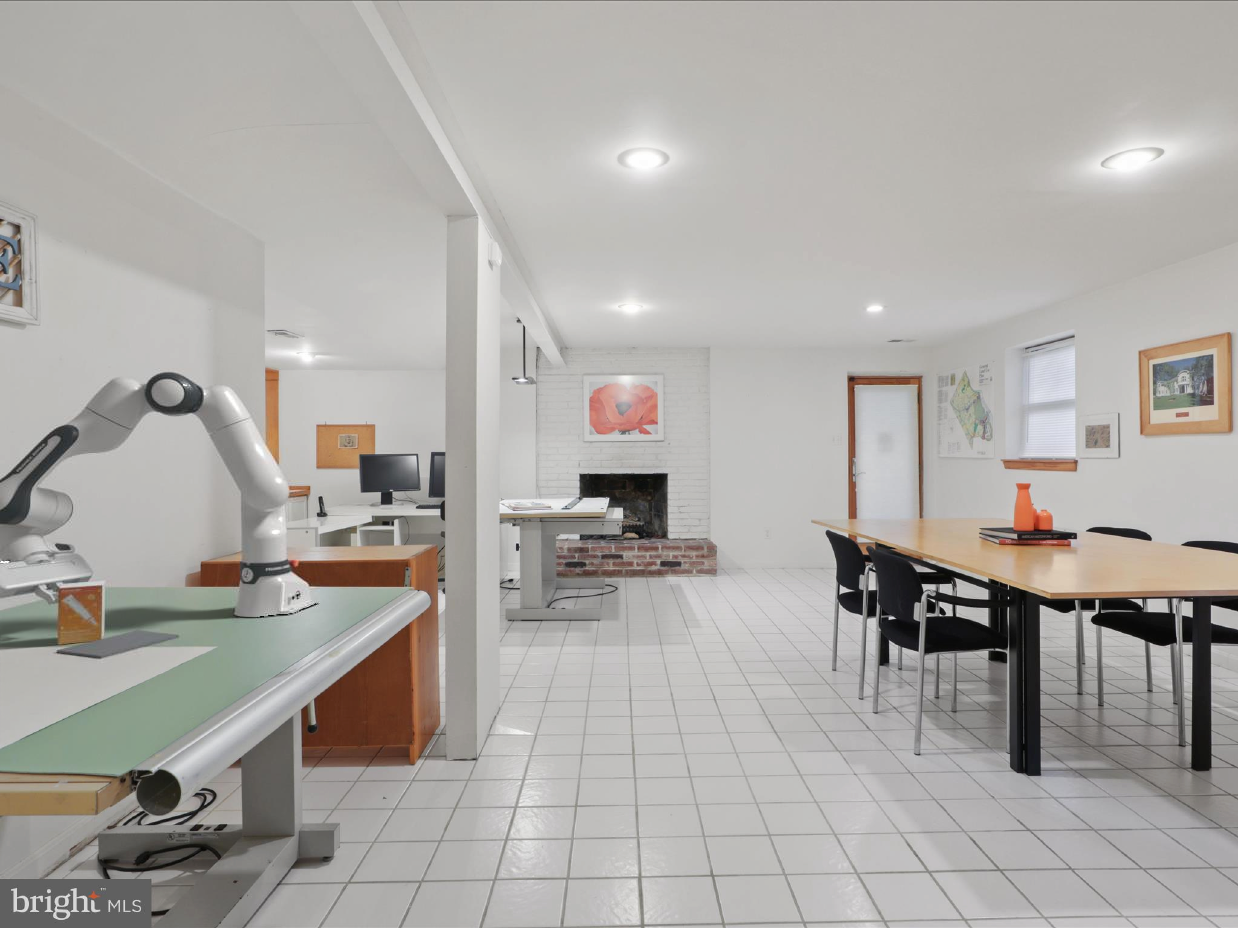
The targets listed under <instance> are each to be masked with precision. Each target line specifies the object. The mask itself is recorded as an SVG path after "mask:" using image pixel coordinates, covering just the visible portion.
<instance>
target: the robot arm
mask: <svg viewBox="0 0 1238 928" xmlns="http://www.w3.org/2000/svg"><path fill="white" fill-rule="evenodd" d="M152 412H156V413H160V414H162V415H165V416H168V417H183V416H187V415H189V414H191V415H194V416H195V417H197V418H198V419H199V420H200V422H201V423H202V425H203V426H204V428H205V430H206V432H207V434H208V436H209V437H210V439H211V441H212V442H213V443H212V444H213V445H214V447H215V449H216V450H217V452H218V454H219V456H220V458H221V459H222V461H223V463H224V465H225V467H226V469H227V470H228V472H229V474H230V475H231V477H232V479H233V481H234V483H235V484H236V486H237V488H238V490H239V491H240V512H241V513H240V517H241V518H240V519H241V523H240V524H241V561H240V562H239V576H240V581H239V587H238V594H237V602H236V605H235V607H234V613H233V615H235V616H238V617H244V618H261V617H260V616H264V617H269V616H268V615H274V616H277V615H276V614H281V613H290V612H294V611H295V610H297V609H300V608H301V607H304V606H307V605H308V604H311V603H314V602H310V601H313V600H310V599H311V598H312V597H311V590H310V589H311V588H310V585H309V583H308V582H307V581H305V580H304V579H302V578H301V577H299V576H298V575H297V574H296V573H294V572H293V570H292V567H298V566H299V560H298V559H293V558H290V560H289V559H288V528H287V519H286V518H287V516H286V503H287V501H288V498H289V497H290V486H289V482H288V481H287V479H286V477H285V475H284V474H283V472H282V470H281V467H280V466H279V465H278V463H277V462H276V460H275V458H274V456H273V454H272V452H271V451H270V450H269V448H268V446H267V444H266V443H265V440H264V439H263V436H262V435H261V433H260V432H259V429H258V427H257V426H256V424H255V421H254V419H253V418H252V415H251V414H250V413H249V411H248V409H247V407H246V406H245V405H244V403H243V401H242V400H241V399H240V397H239V395H238V394H237V393H235V391H234V390H233V389H232V388H231V387H230V386H227V385H223V384H222V385H221V384H218V385H217V384H216V385H211V386H207V387H201V386H200V385H198V384H197V383H195V382H194V381H193V380H191V379H190V378H189V377H187V376H186V375H184V374H180V373H177V372H173V371H165V372H164V371H163V372H160V373H156V374H155V375H153V376H152V377H151V378H149V380H148V381H147V383H142V382H140V381H139V380H136V379H133V378H130V377H124V376H119V377H114V378H113V379H111V380H110V381H108V382H107V383H106V384H105V385H104V386H102V387H101V388H100V389H99V390H98V391H97V393H95V395H94V396H92V398H91V399H90V400H89V402H88V403H87V404H86V405H85V407H84V408H83V409H82V410H81V411H80V412H79V413H78V415H76V416H75V417H74V418H73V419H71V420H70V421H68V422H67V423H65V424H63V425H60V426H58V427H56V428H54V429H53V430H52V431H50V432H49V433H48V434H47V435H46V436H44V437H43V438H42V439H41V440H40V441H39V442H38V443H37V444H36V445H35V446H34V447H33V448H32V449H31V450H30V451H29V452H28V453H27V454H26V455H25V456H24V457H23V458H22V459H21V460H20V461H19V462H18V463H17V464H16V465H15V466H14V467H13V468H12V469H11V470H10V471H9V472H8V473H7V474H6V475H4V476H2V477H1V478H0V599H4V598H9V597H10V598H11V597H16V596H23V595H28V594H33V593H35V595H36V596H37V597H38V598H41V599H43V600H45V601H46V602H47V604H48V605H53V604H58V594H59V587H60V586H61V585H62V584H68V583H79V582H90V580H91V578H92V577H93V574H94V572H93V569H92V567H91V566H90V565H89V563H88V562H87V561H86V560H85V558H83V556H82V555H81V554H79V553H76V552H75V551H76V547H75V546H74V545H73V544H71V543H61V542H60V543H59V542H54V541H50V540H46V539H45V538H44V537H45V536H47V535H50V534H51V533H53V532H55V531H56V530H58V529H59V528H61V527H63V526H64V525H66V523H67V522H69V520H70V519H71V517H72V515H73V513H74V505H73V504H74V503H73V501H72V498H71V497H70V496H69V495H68V494H67V493H65V492H60V491H57V490H54V489H50V488H45V487H39V486H40V485H41V484H42V483H43V482H44V481H45V479H46V478H47V477H48V476H49V475H51V473H52V472H53V471H54V470H55V469H56V468H57V467H58V466H59V465H60V464H61V463H62V462H64V461H65V460H67V459H69V458H73V457H75V456H79V455H85V454H101V453H107V452H110V451H114V450H115V449H117V448H119V447H120V446H121V445H123V444H124V442H126V440H128V438H129V437H130V435H131V434H132V432H133V431H134V429H135V428H136V427H137V425H138V424H139V423H140V422H141V420H142V419H143V418H144V417H145V416H146V415H147V414H149V413H152ZM50 591H52V592H53V593H52V592H50ZM315 599H316V600H318V599H317V598H315ZM307 603H308V604H307Z"/></svg>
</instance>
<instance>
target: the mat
mask: <svg viewBox="0 0 1238 928" xmlns="http://www.w3.org/2000/svg"><path fill="white" fill-rule="evenodd" d="M179 637H180V635H179V634H174V633H165V632H157V631H155V632H154V631H145V630H132V631H130V632H126V633H122V634H121V633H120V634H117V635H114V636H110V637H105V638H104V637H103V638H102V639H100V640H96V641H91V642H83V643H81V644H77V645H73V646H69V647H65V648H61V649H57V650H56V653H57V652H59V653H58V654H63V653H67V654H66V655H71V654H72V656H79V655H81V656H80V657H87V656H89V658H97V659H104V658H107V656H108V657H111V656H114V655H118V653H119V654H121V653H126V652H129V651H133V650H137V649H139V648H145V647H147V646H151V645H154V644H159V643H161V642H166V641H170V640H173V639H178V638H179Z"/></svg>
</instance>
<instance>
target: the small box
mask: <svg viewBox="0 0 1238 928" xmlns="http://www.w3.org/2000/svg"><path fill="white" fill-rule="evenodd" d="M105 597H106V581H105V580H99V581H98V580H97V581H88V582H79V583H68V584H62V585H61V586H60V587H59V594H58V603H57V604H58V605H57V612H58V613H57V645H59V646H60V645H67V644H69V645H70V644H79V643H88V642H92V641H96V640H100V639H104V636H105V611H106V610H105V609H106V607H105V605H106V604H105V603H106V601H105V600H106V599H105Z"/></svg>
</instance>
